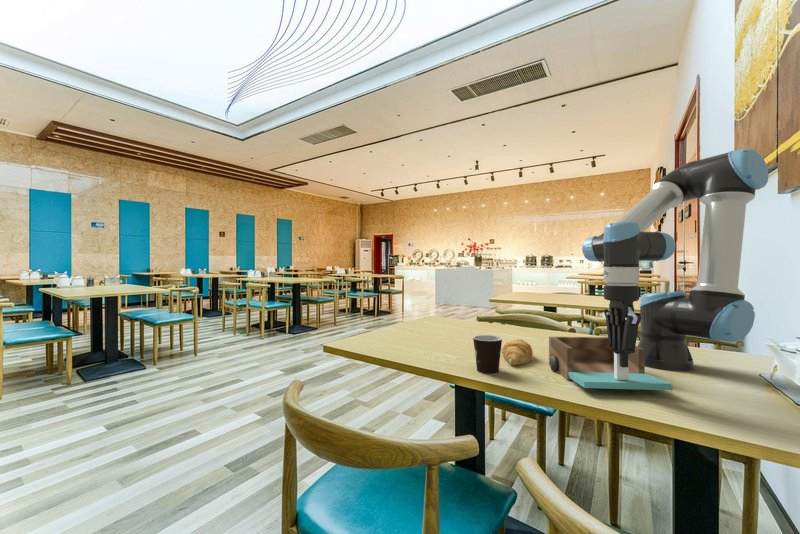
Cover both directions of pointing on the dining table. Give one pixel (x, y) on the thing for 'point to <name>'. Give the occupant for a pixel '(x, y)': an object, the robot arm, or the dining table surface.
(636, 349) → the cart
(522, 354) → the croissant
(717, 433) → the dining table surface
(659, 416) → the dining table surface
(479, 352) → the coffee mug
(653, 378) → the tailgate
